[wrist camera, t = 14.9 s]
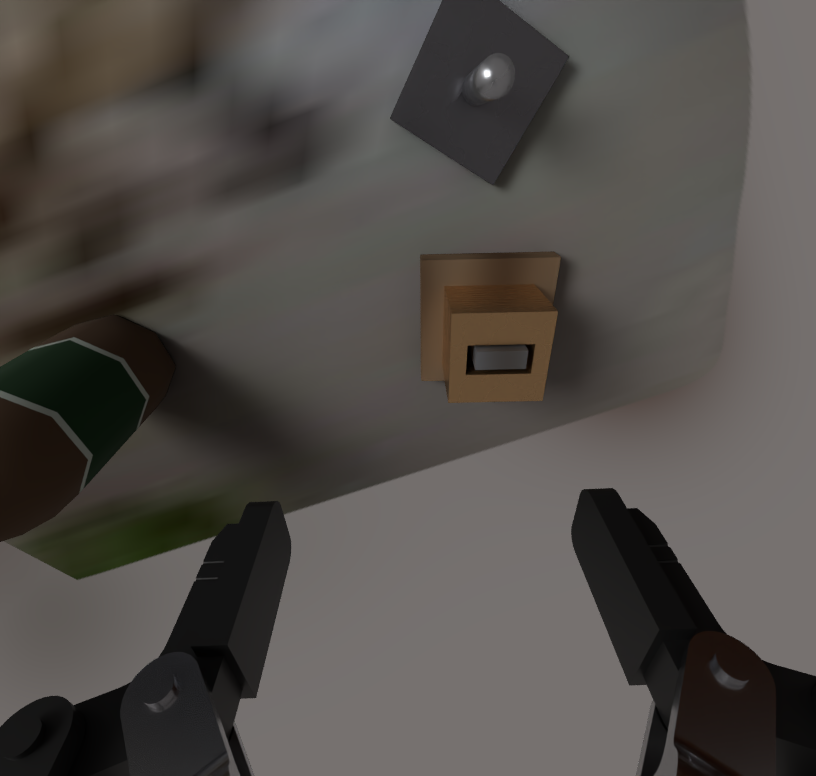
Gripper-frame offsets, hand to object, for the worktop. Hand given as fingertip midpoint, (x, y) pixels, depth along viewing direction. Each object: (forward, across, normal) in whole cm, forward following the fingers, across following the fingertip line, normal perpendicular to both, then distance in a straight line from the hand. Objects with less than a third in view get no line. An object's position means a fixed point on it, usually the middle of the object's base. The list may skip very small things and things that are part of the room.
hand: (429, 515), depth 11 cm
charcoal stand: (+21, -4, -10) cm, 24 cm away
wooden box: (+21, -5, +3) cm, 22 cm away
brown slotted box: (+19, -5, +4) cm, 20 cm away
